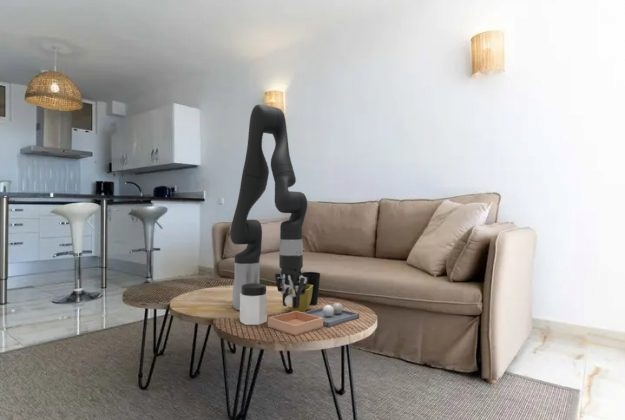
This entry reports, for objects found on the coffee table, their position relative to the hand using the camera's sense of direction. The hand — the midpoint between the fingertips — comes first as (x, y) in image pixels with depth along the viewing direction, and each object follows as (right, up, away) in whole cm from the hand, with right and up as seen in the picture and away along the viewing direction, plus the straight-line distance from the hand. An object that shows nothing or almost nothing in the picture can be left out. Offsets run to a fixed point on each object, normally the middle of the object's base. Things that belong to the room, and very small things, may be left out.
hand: (291, 306), depth 127 cm
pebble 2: (+16, -6, +13) cm, 21 cm away
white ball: (0, 0, 0) cm, 0 cm away
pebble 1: (+12, -6, +10) cm, 17 cm away
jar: (-13, -6, +4) cm, 15 cm away
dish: (+2, -6, -1) cm, 7 cm away
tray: (+12, -6, +10) cm, 17 cm away
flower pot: (+2, -6, +19) cm, 20 cm away
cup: (+6, -6, +31) cm, 32 cm away
